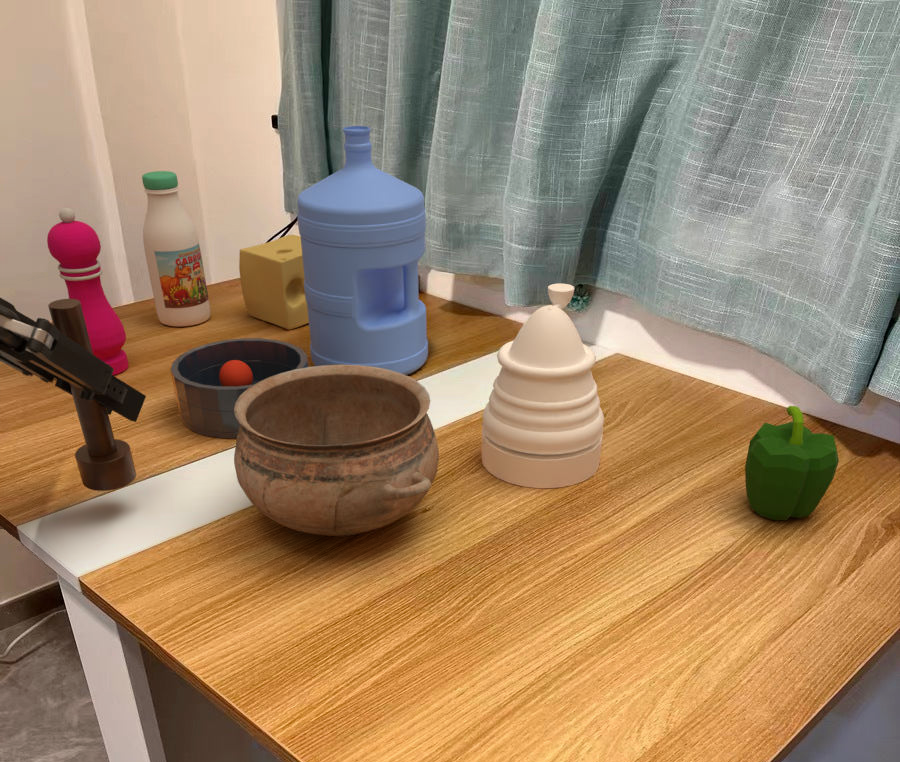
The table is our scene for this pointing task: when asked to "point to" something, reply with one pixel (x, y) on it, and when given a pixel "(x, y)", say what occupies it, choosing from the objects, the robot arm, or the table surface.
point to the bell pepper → (789, 468)
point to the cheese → (275, 282)
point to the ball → (235, 374)
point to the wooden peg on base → (93, 416)
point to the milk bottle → (173, 254)
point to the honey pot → (544, 404)
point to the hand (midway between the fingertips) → (124, 404)
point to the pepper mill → (88, 286)
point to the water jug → (363, 264)
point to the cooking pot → (335, 448)
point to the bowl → (202, 391)
